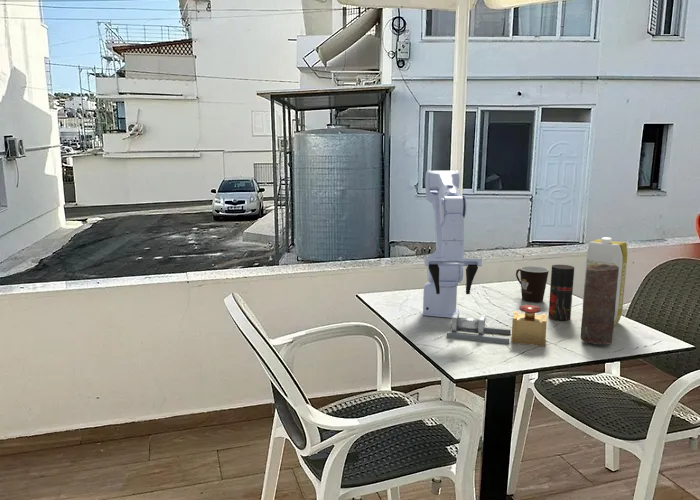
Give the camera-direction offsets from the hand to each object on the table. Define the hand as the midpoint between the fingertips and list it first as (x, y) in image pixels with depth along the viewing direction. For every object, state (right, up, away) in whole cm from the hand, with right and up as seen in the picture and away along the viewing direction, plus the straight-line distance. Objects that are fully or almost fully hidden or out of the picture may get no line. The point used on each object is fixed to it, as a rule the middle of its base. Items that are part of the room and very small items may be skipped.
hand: (452, 294), depth 146 cm
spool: (+4, -11, +1) cm, 11 cm away
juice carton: (+43, -9, +11) cm, 46 cm away
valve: (+18, -11, -3) cm, 22 cm away
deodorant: (+33, -8, +15) cm, 37 cm away
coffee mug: (+31, -4, +35) cm, 47 cm away
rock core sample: (+35, -12, -5) cm, 37 cm away
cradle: (+7, -11, 0) cm, 13 cm away
